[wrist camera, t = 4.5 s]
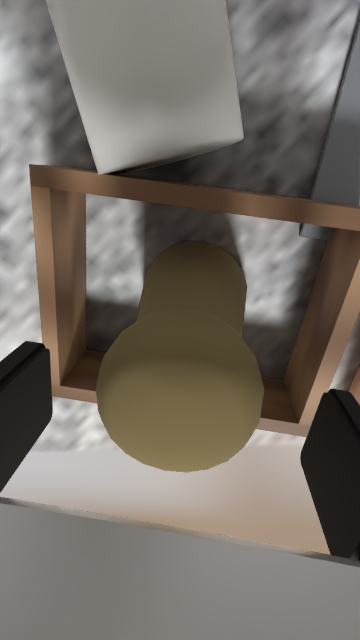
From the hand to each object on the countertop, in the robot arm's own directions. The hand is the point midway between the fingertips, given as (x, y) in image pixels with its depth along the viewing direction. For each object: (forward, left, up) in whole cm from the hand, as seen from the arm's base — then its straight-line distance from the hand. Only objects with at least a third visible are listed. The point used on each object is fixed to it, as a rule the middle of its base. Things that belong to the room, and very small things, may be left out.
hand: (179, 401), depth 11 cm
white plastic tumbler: (-11, -3, -9) cm, 14 cm away
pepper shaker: (-1, 0, -9) cm, 9 cm away
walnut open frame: (-1, 0, -9) cm, 9 cm away
